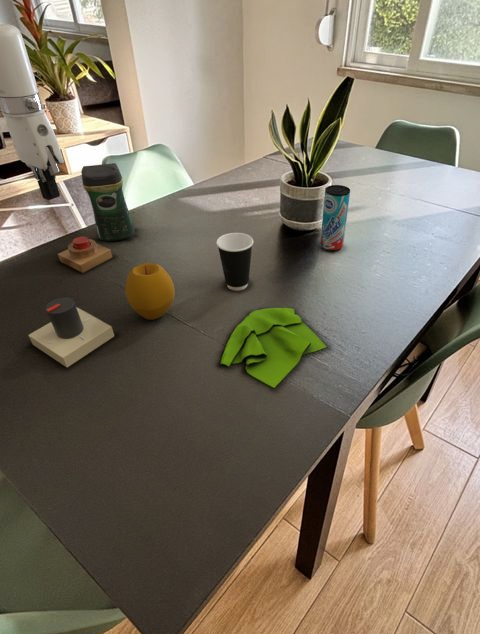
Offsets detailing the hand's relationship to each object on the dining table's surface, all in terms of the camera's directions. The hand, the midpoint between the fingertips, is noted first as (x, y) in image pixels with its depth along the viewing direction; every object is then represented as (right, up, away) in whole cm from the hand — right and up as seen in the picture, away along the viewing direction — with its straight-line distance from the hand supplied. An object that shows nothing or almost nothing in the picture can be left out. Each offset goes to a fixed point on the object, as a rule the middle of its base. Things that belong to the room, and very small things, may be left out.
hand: (51, 197), depth 95 cm
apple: (+24, -27, -5) cm, 36 cm away
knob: (+10, -30, -13) cm, 34 cm away
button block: (+3, -11, +12) cm, 17 cm away
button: (+3, -9, +10) cm, 13 cm away
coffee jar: (+7, -3, +22) cm, 23 cm away
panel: (+10, -32, -11) cm, 35 cm away
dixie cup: (+41, -19, +3) cm, 45 cm away
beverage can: (+65, -7, +16) cm, 67 cm away
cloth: (+48, -33, -12) cm, 60 cm away
